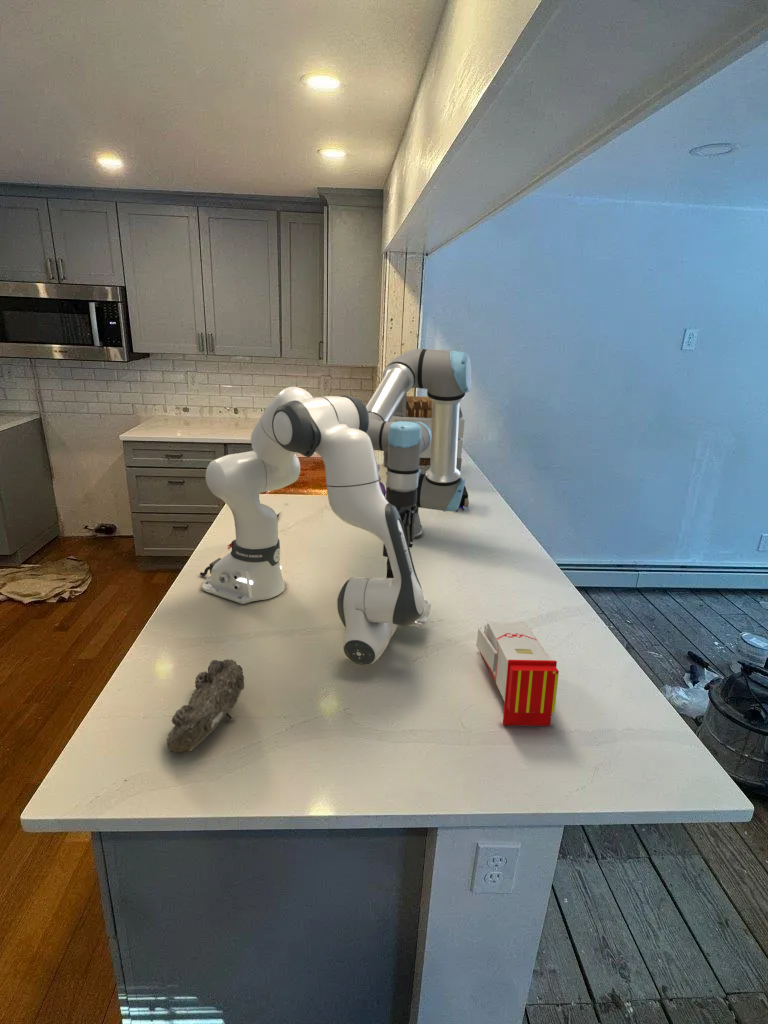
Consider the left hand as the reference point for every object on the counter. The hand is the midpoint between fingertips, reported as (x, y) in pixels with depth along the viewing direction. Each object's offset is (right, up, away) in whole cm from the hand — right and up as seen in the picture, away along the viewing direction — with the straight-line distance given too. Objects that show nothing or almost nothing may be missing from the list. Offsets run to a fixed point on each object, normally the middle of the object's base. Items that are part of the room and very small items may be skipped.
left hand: (396, 591), depth 146 cm
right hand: (0, +5, -3) cm, 5 cm away
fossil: (-36, -19, -38) cm, 55 cm away
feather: (-43, +19, +65) cm, 80 cm away
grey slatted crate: (+14, +39, +129) cm, 136 cm away
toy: (+24, -16, -24) cm, 37 cm away
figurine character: (+27, +23, +84) cm, 91 cm away
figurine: (-7, +25, +87) cm, 91 cm away
